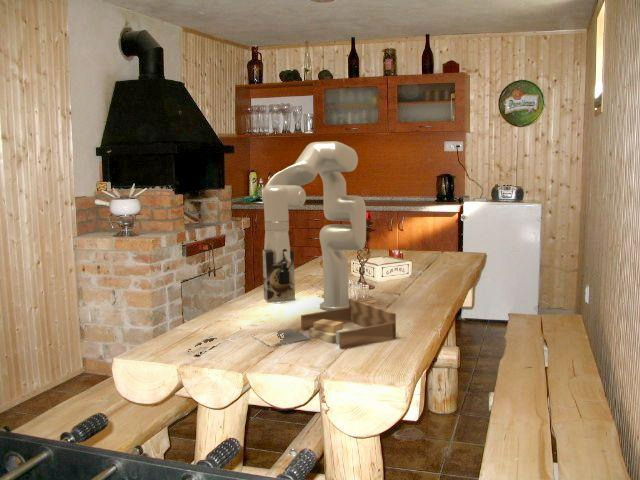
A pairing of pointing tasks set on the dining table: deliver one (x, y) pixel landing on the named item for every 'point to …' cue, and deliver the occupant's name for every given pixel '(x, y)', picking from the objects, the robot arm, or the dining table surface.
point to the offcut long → (323, 335)
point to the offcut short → (327, 326)
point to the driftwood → (205, 341)
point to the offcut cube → (338, 335)
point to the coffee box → (277, 279)
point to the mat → (291, 336)
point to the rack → (370, 317)
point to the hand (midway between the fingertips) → (278, 281)
